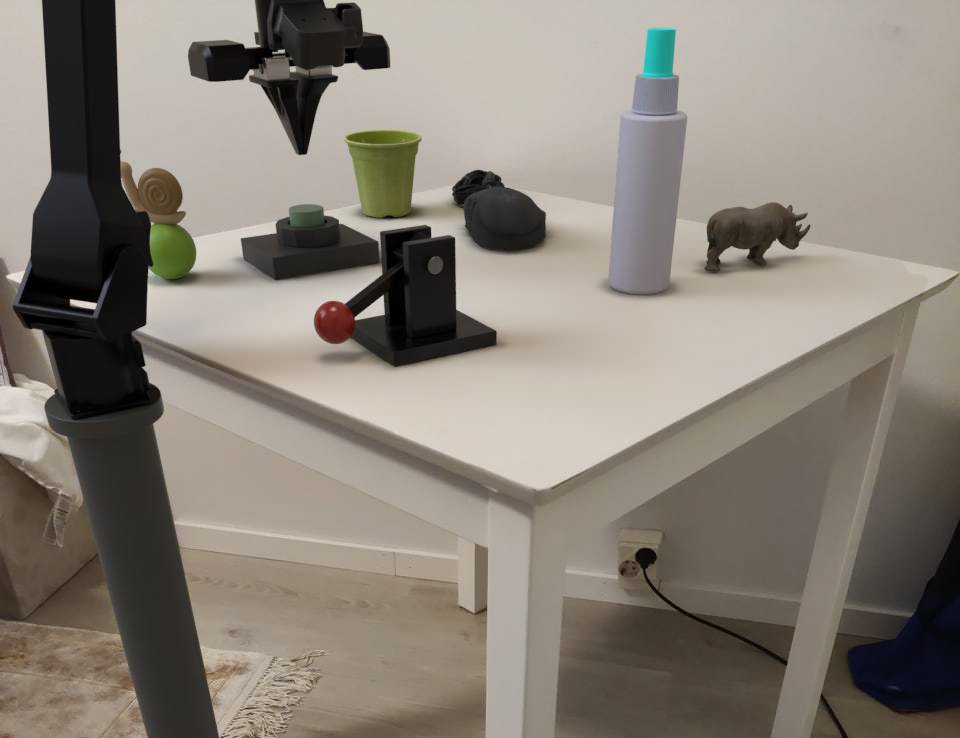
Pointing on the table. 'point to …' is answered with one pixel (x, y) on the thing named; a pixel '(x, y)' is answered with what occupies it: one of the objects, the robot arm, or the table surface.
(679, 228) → the table surface
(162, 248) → the snail figurine
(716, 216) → the rhino figurine
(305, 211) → the power button
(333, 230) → the box
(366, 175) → the plant pot
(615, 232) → the spray bottle
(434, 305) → the switch bracket
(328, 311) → the lever
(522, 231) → the dark rounded piece
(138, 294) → the robot arm
